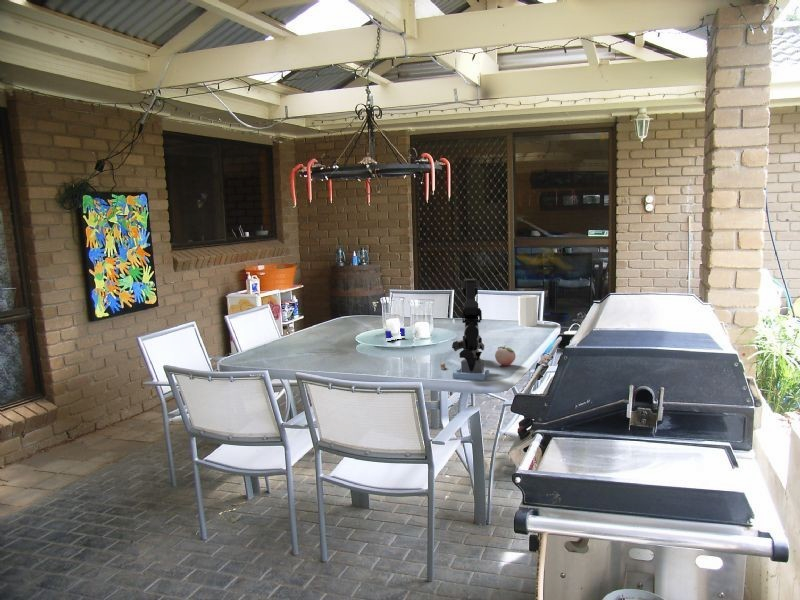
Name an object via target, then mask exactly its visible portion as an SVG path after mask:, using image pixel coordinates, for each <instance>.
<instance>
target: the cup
mask: <svg viewBox="0 0 800 600" xmlns="http://www.w3.org/2000/svg"><path fill="white" fill-rule="evenodd" d="M517 299H518V300H517V301H518V326H520V327H524V328H525V327H526V328H528V327H536V326H538V296H537V295H536V294H535V295H534V294H524V295H523V294H522V295H518V297H517Z"/></svg>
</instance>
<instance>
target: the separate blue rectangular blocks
mask: <svg viewBox="0 0 800 600" xmlns="http://www.w3.org/2000/svg"><path fill="white" fill-rule="evenodd" d="M489 375H490V369H486V370H484V373H482V374H476V373H461V367H459V368H457V369H456V371H455V372H452V379H459V380H460V379H461V380H481V381H484V379H486V377H489Z"/></svg>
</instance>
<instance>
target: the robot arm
mask: <svg viewBox="0 0 800 600" xmlns="http://www.w3.org/2000/svg"><path fill="white" fill-rule="evenodd" d="M460 289H461V290H462V294H463V296H464V297H465V302H464V303H463V308H461V310H462V311H461V312H462V313H461V315H462V323H463V324H464V330H463V335H462V340H456V341H453V342H452V344H451V349H453V352H456V351H459V350H461V349H463V350H461V351H460V352H459V355H458V356H459V358H460V359H466V360H467V363H468V366H469V369H470V371H473V368H474V365H475V362H476V360H481V355H482V354H483V352H482V351H484V350H485V344H484V343H483V341H482V339H483V338H482V337H481V335H480V330H479V323H480V324H481V322H482V320H483V317H482V315H483V313H482V312H483V311H482V309H481V308H480V307H479V303H478V302H477V300H476V297H477V295H478V292H479V290H478V289H480V280H477V278H463V280H461V281H460ZM480 350H481V351H480Z"/></svg>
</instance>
